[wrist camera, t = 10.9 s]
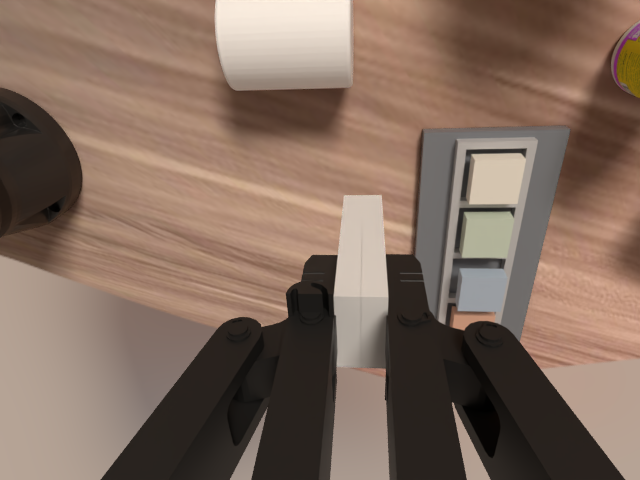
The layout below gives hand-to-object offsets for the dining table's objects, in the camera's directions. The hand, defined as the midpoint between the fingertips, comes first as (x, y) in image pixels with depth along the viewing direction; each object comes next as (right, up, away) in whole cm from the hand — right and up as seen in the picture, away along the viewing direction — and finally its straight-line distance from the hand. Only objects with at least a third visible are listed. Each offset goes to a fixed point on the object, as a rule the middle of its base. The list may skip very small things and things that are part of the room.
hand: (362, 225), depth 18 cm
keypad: (+15, -1, +30) cm, 34 cm away
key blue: (+15, -5, +29) cm, 33 cm away
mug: (-4, +20, +20) cm, 28 cm away
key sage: (+15, 0, +27) cm, 30 cm away
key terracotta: (+15, -10, +33) cm, 37 cm away
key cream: (+15, +6, +24) cm, 28 cm away
